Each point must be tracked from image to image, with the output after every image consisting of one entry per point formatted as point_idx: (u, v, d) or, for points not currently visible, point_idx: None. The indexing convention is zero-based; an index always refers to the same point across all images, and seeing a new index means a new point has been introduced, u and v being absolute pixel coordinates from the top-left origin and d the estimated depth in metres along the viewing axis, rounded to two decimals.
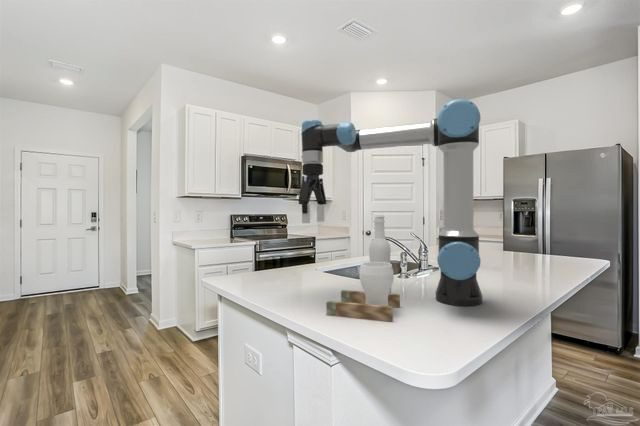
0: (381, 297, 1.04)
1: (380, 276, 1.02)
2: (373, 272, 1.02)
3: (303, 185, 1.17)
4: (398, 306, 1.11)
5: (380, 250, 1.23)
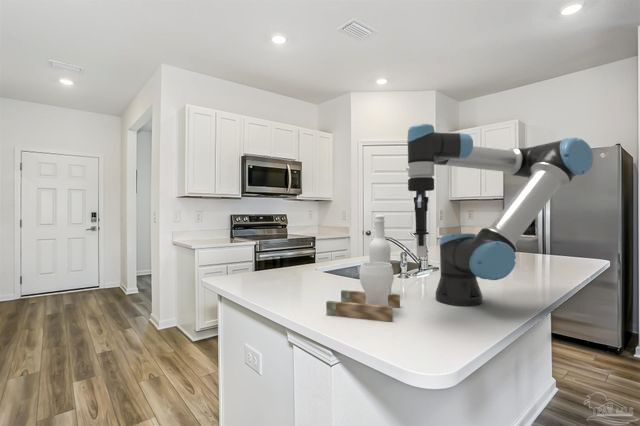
0: (381, 297, 1.04)
1: (380, 276, 1.02)
2: (373, 272, 1.02)
3: (418, 213, 0.97)
4: (398, 306, 1.11)
5: (380, 250, 1.23)
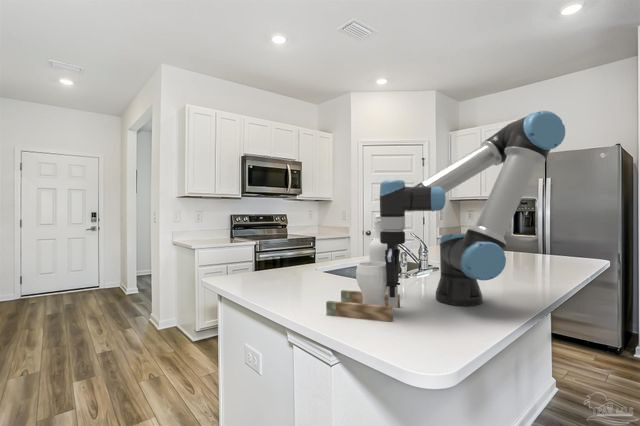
0: (378, 296, 1.04)
1: (376, 275, 1.02)
2: (369, 272, 1.03)
3: (388, 267, 1.01)
4: (398, 306, 1.11)
5: (380, 250, 1.23)
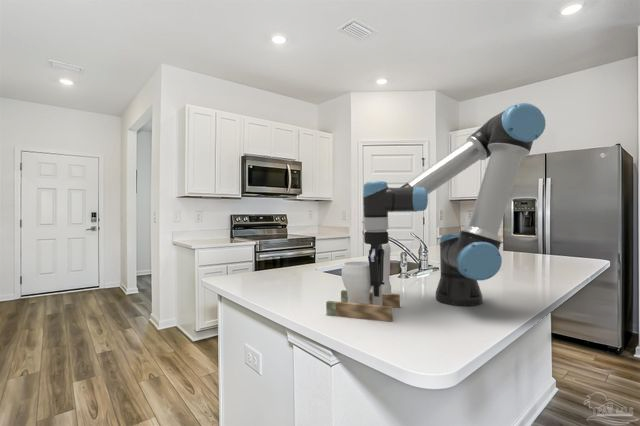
0: (362, 296, 1.06)
1: (361, 275, 1.04)
2: (354, 271, 1.05)
3: (371, 267, 1.02)
4: (398, 306, 1.11)
5: None
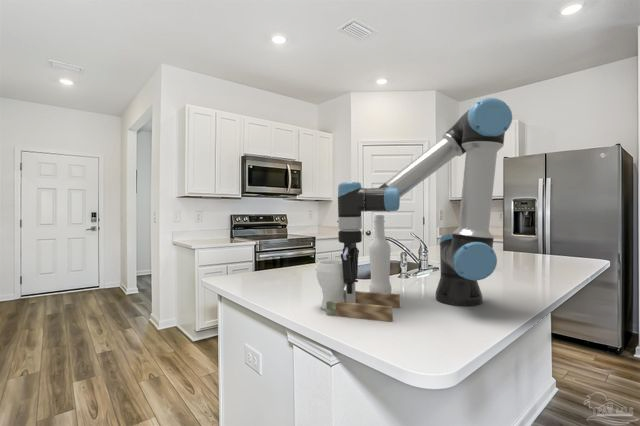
0: (336, 293, 1.09)
1: (333, 273, 1.07)
2: (327, 269, 1.08)
3: (344, 265, 1.06)
4: (398, 306, 1.11)
5: (380, 250, 1.23)
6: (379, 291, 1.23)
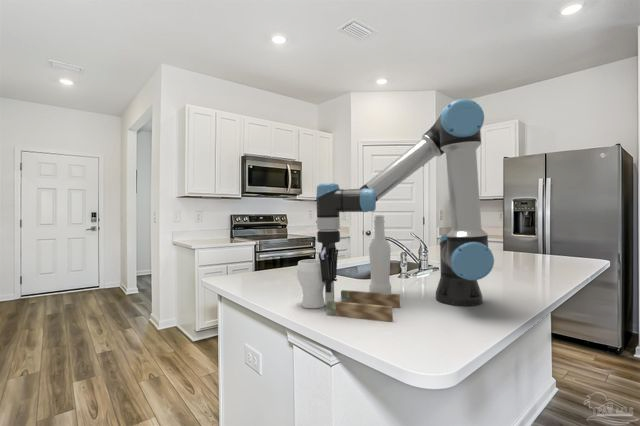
0: (315, 292, 1.12)
1: (312, 272, 1.10)
2: (306, 268, 1.11)
3: (322, 264, 1.08)
4: (398, 306, 1.11)
5: (380, 250, 1.23)
6: (379, 291, 1.23)
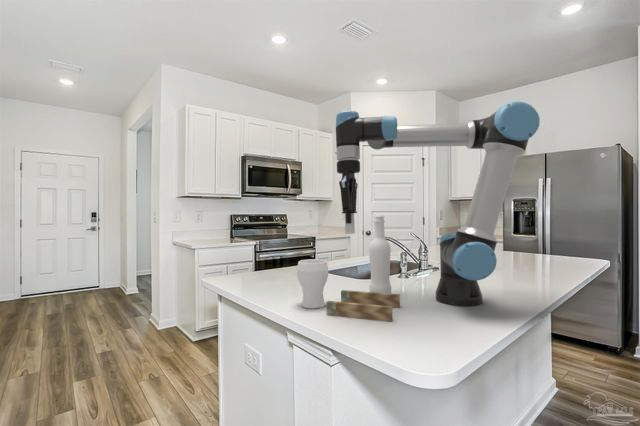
0: (315, 292, 1.12)
1: (312, 272, 1.10)
2: (306, 268, 1.11)
3: (343, 193, 1.06)
4: (398, 306, 1.11)
5: (380, 250, 1.23)
6: (379, 291, 1.23)
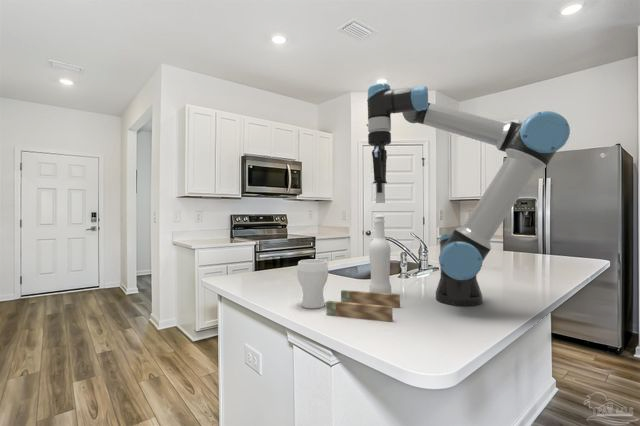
0: (315, 292, 1.12)
1: (312, 272, 1.10)
2: (306, 268, 1.11)
3: (375, 162, 1.10)
4: (398, 306, 1.11)
5: (380, 250, 1.23)
6: (379, 291, 1.23)
